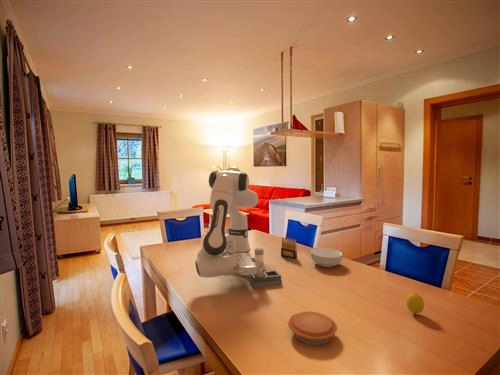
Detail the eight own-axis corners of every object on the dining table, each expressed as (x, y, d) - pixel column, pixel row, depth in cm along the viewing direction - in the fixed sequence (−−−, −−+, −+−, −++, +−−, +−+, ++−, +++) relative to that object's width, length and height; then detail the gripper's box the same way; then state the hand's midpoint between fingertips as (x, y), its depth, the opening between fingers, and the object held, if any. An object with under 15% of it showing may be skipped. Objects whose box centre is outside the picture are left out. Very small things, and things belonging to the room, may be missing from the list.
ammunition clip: (297, 258, 166) (297, 238, 165) (295, 259, 164) (295, 239, 163) (282, 255, 173) (282, 236, 172) (280, 255, 172) (280, 236, 171)
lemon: (407, 308, 107) (408, 288, 107) (424, 313, 104) (425, 292, 103) (404, 314, 103) (405, 293, 102) (422, 319, 99) (423, 297, 99)
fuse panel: (254, 288, 127) (254, 279, 127) (249, 280, 136) (249, 272, 135) (281, 284, 130) (281, 276, 130) (275, 277, 139) (275, 269, 139)
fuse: (253, 279, 132) (252, 249, 130) (257, 276, 135) (257, 247, 134) (261, 281, 129) (260, 251, 128) (265, 277, 133) (265, 248, 132)
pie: (328, 320, 100) (328, 307, 100) (344, 349, 85) (344, 333, 84) (284, 322, 100) (284, 308, 99) (292, 351, 84) (292, 335, 84)
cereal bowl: (344, 271, 145) (344, 258, 145) (311, 269, 149) (311, 256, 148) (340, 260, 162) (340, 248, 161) (310, 259, 165) (310, 247, 165)
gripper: (236, 265, 118) (268, 262, 122) (227, 251, 138) (255, 248, 141) (236, 280, 119) (268, 276, 122) (228, 264, 138) (255, 261, 142)
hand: (261, 261), depth 132 cm, fingers closed on fuse, 4 cm apart
